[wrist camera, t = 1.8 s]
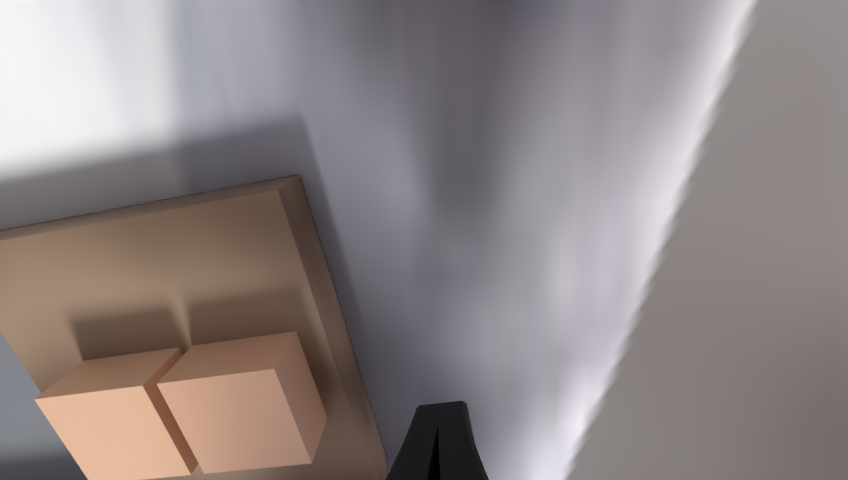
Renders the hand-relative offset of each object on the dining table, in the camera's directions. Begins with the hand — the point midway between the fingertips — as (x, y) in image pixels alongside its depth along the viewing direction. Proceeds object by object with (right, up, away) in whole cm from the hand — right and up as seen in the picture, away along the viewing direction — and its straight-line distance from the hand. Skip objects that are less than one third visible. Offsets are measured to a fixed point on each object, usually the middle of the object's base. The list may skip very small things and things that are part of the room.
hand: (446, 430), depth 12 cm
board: (-9, 0, +6) cm, 11 cm away
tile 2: (-11, -1, +4) cm, 12 cm away
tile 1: (-7, 0, +4) cm, 8 cm away
